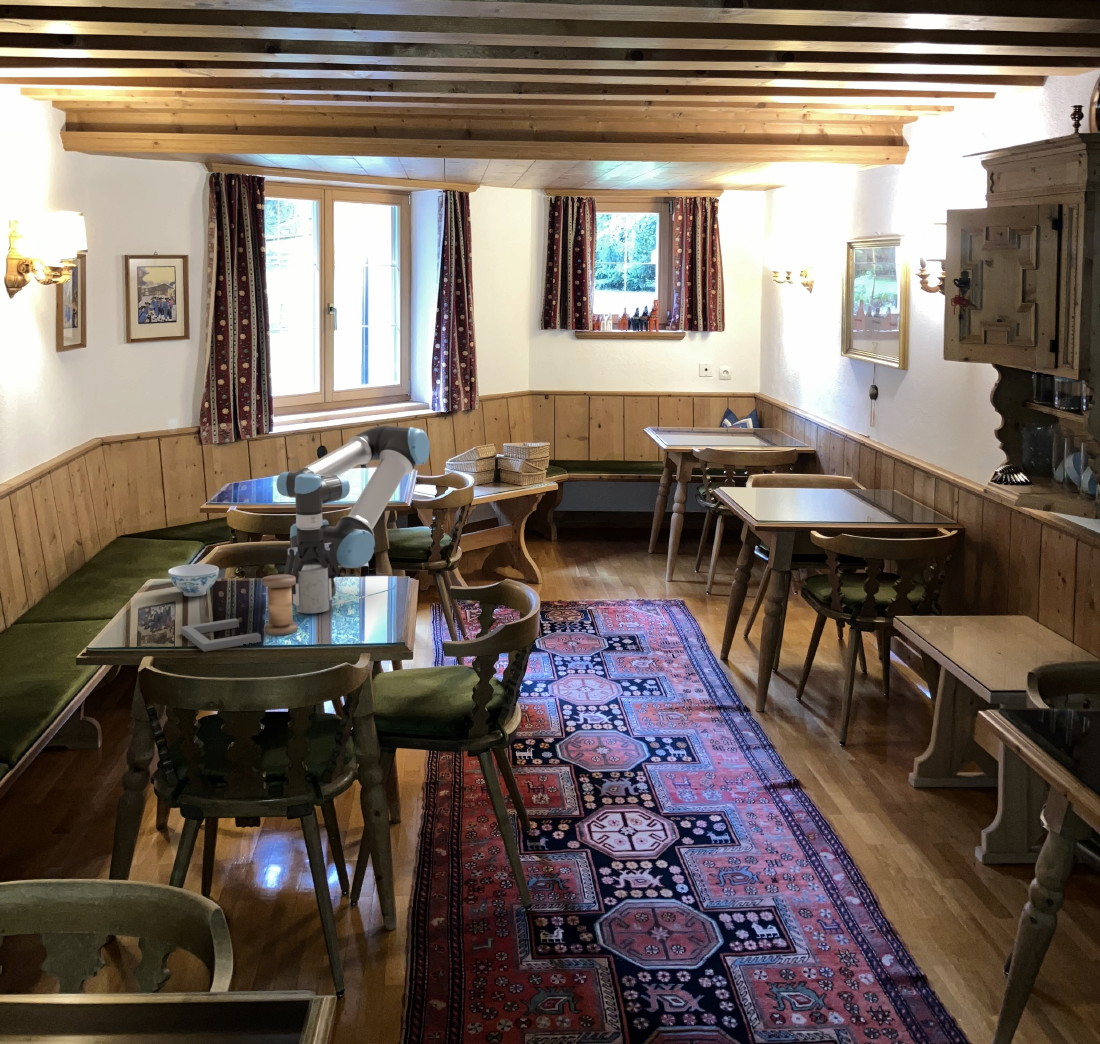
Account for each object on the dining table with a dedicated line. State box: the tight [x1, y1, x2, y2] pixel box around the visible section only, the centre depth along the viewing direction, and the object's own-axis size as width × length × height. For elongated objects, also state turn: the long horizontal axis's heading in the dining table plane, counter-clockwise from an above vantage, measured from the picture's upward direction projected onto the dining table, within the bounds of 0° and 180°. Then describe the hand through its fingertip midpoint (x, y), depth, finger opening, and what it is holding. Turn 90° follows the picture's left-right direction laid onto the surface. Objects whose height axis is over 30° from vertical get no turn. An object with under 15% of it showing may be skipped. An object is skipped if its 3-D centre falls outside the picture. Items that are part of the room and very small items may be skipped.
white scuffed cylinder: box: [296, 564, 330, 614], centre depth 340 cm, size 10×10×12 cm
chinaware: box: [167, 563, 220, 597], centre depth 360 cm, size 15×15×8 cm
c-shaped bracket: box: [180, 617, 262, 653], centre depth 315 cm, size 19×16×2 cm
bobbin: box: [261, 573, 298, 636], centre depth 321 cm, size 9×9×15 cm
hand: (312, 601), depth 341 cm, fingers closed on white scuffed cylinder, 9 cm apart
